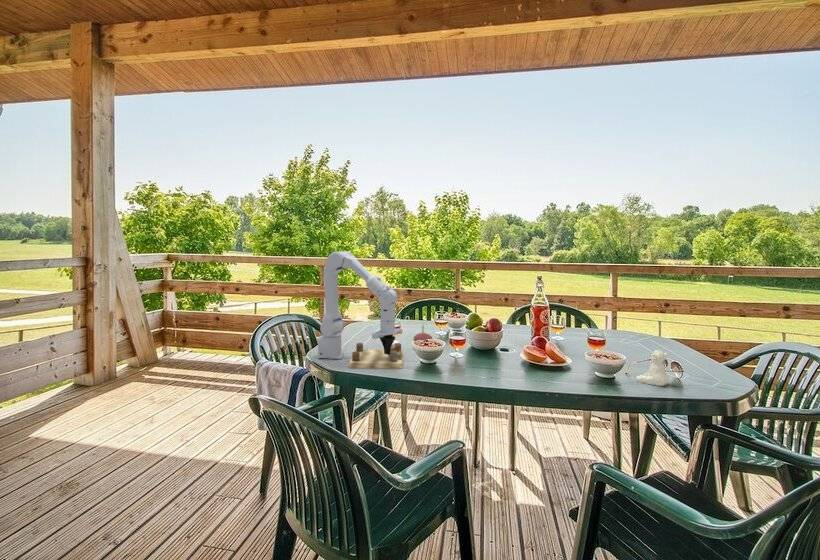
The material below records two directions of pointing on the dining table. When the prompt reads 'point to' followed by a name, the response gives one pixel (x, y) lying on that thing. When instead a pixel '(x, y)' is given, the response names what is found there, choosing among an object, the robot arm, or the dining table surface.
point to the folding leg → (393, 354)
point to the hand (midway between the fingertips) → (387, 354)
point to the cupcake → (422, 335)
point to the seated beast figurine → (655, 370)
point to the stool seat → (375, 358)
